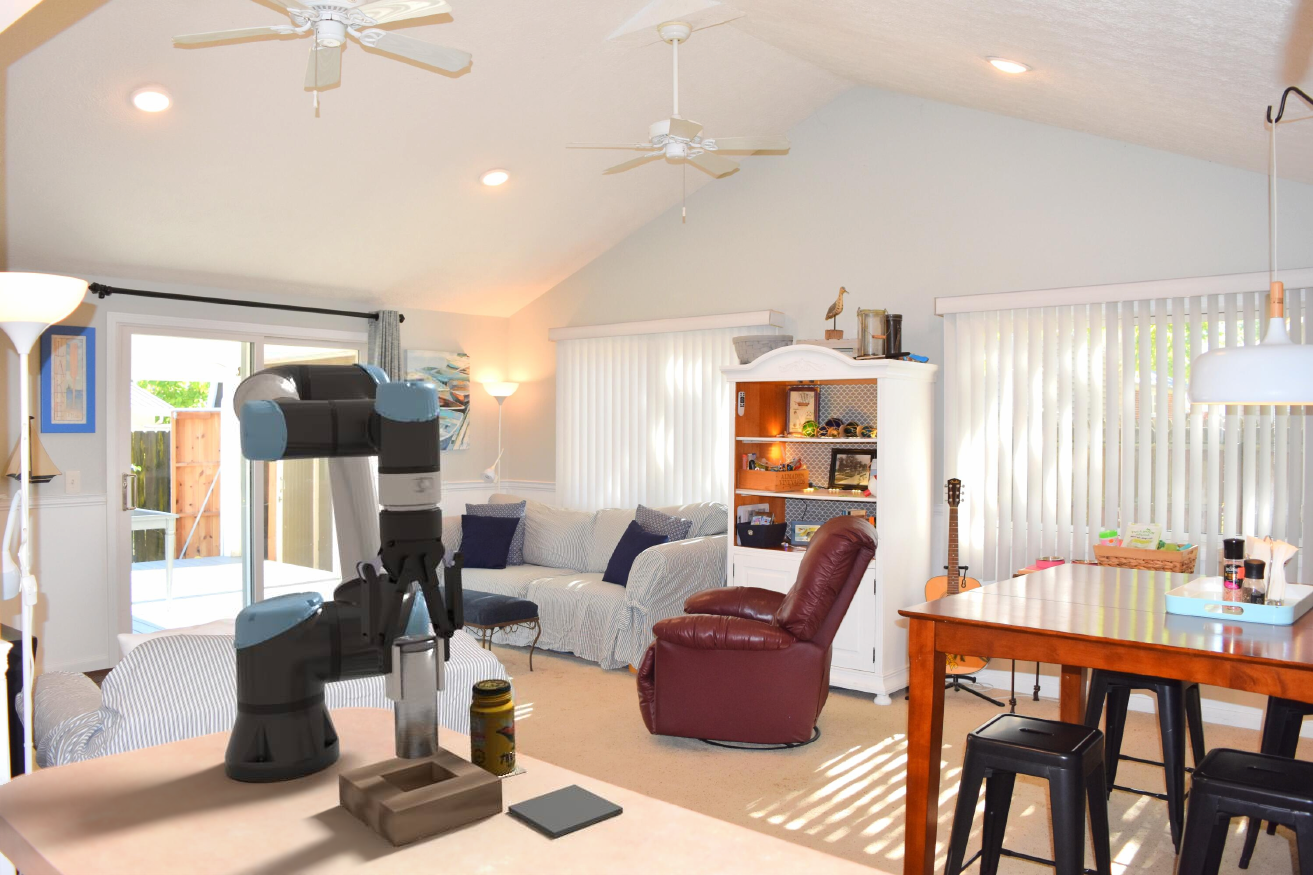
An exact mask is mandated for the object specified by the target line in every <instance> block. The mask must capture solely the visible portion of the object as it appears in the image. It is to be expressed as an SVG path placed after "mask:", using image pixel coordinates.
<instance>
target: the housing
mask: <svg viewBox="0 0 1313 875" xmlns="http://www.w3.org/2000/svg"><path fill="white" fill-rule="evenodd" d="M338 788H339V789H338V791H339V792H338V794H339V795H338V797H339V798H338V799H339V806H341V807H342V808H344V809H345V811H347V812H349V813H350V814H351V815H352V816H354V817H356V818H357V819H358V820H359V821H360V822H362V823H363V824H364V825H366V826H367V827H369V829H371V830H372V831H374V832H375V833H377V834H378V835H379V836H380V837H382V838H383V839H385V841H387V842H389V843H390V844H391V845H393V847H394V848H397V847H400V846H403V845H406V844H409V843H412V842H416V841H418V840H421V839H424V838H428V837H430V836H433V835H436V834H439V833H442V832H445V831H448V830H451V829H454V828H457V827H460V826H463V825H466V824H469V823H471V822H474V821H478V820H481V819H483V818H487V817H489V816H492V815H496V814H499V813H502V812H503V811H504V810H503V809H504V808H503V778H499V777H497V776H495V775H493V774H491V773H490V772H488V771H486V770H484V769H482V768H480V767H478V766H476V765H474V764H473V763H471V761H469V760H467V759H465V758H463V757H462V756H459V755H458V754H455V753H453V752H451V751H450V750H448V749H446V748H444V747H442V746H440V745H439V750H438V752H437V753H436V754H434V755H432V756H429V757H425V758H420V759H403V758H399V757H397V756H396V757H393V758H390V759H387V760H383V761H382V760H381V761H380V762H376V763H372V764H368V765H365V766H360V767H358V768H357V767H356V768H353V769H350V770H349V769H348V770H346V771H343V772H339V773H338Z"/></svg>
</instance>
